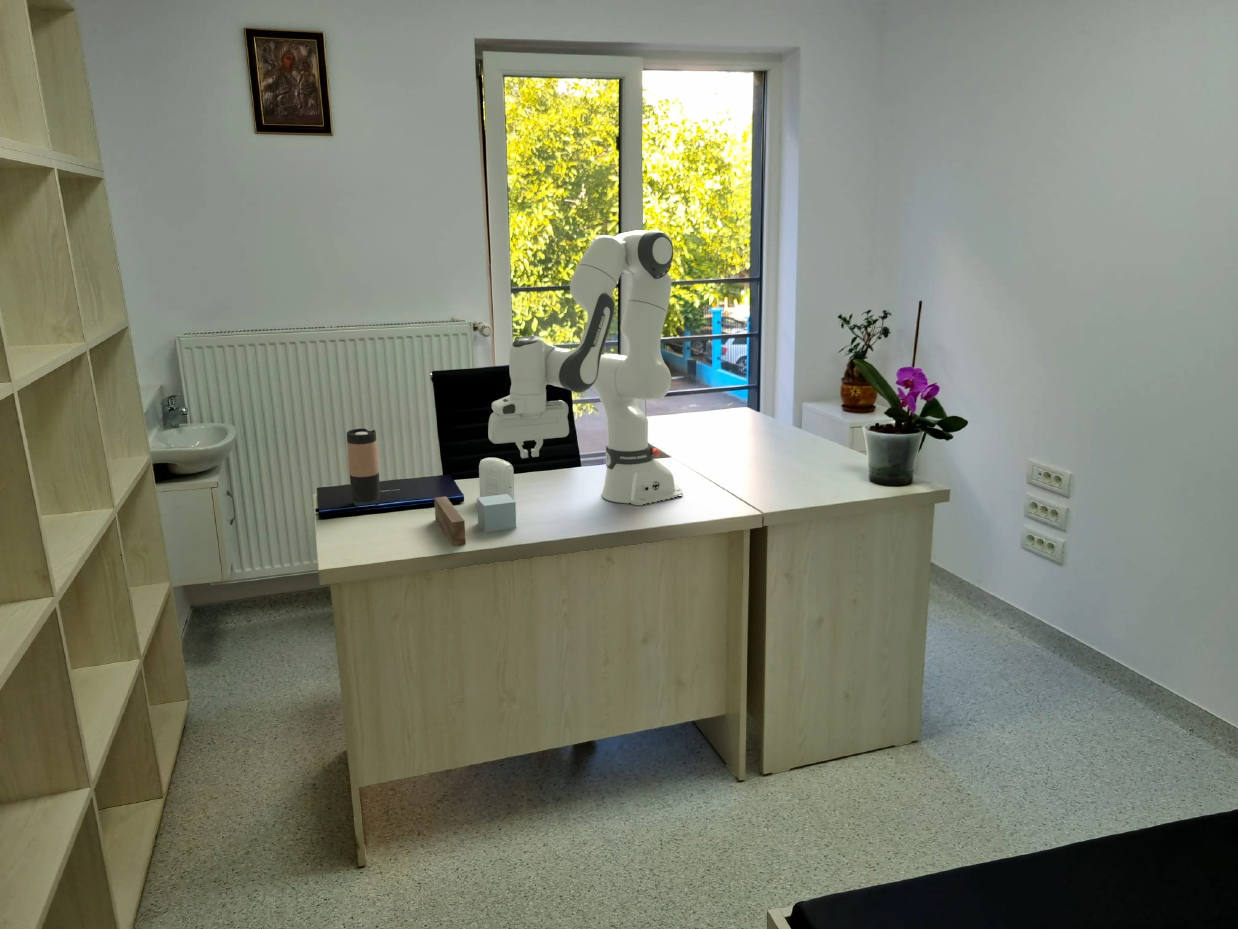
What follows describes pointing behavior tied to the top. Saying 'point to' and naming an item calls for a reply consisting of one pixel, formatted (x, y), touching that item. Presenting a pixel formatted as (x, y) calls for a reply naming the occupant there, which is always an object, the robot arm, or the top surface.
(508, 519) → the slate block
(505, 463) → the photo printer
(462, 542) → the stop board
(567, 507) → the top surface
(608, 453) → the robot arm
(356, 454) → the travel mug
